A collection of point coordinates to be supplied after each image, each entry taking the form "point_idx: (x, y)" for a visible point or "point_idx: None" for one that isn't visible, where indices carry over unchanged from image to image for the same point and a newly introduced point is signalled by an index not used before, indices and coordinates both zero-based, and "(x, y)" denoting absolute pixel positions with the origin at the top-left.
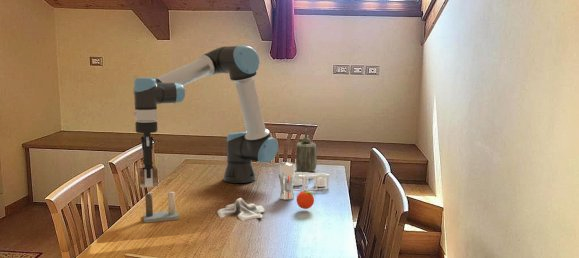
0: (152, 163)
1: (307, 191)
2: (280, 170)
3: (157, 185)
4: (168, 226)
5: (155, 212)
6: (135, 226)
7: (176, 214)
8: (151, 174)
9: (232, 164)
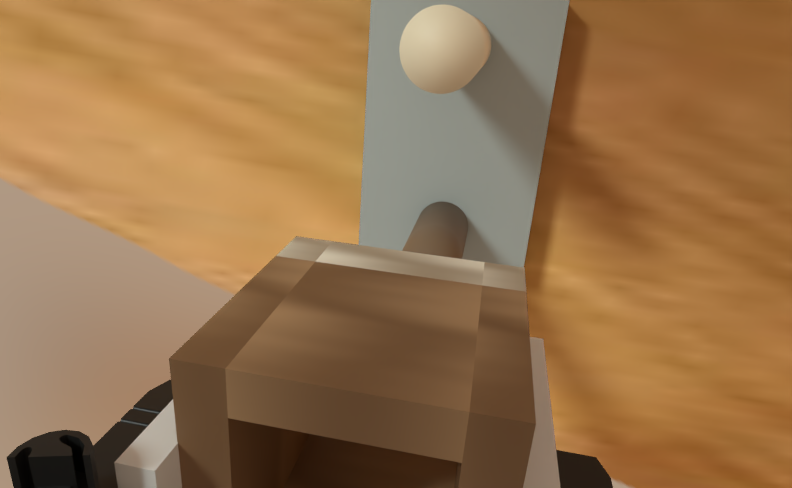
0: (89, 457)
1: None
2: None
3: (522, 278)
4: (713, 121)
5: (376, 169)
6: (574, 330)
7: (509, 10)
8: (553, 475)
9: None
